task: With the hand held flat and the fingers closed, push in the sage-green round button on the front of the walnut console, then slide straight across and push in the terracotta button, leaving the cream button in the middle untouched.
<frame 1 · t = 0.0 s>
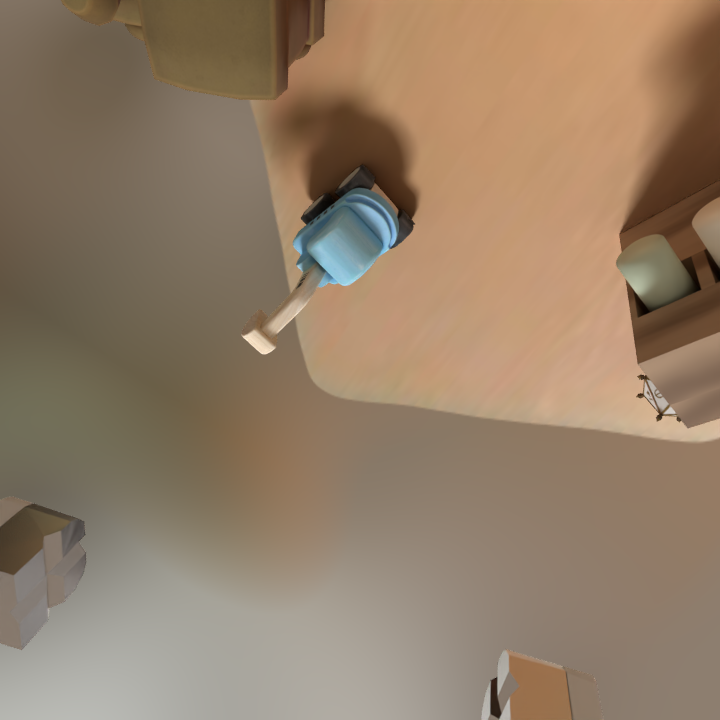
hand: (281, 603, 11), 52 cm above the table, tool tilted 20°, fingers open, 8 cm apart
game die: (674, 360, 66), on the table
toy excavator: (344, 224, 66), on the table
sage button: (658, 278, 47), point 12 cm above the table, slide at 0.0 cm
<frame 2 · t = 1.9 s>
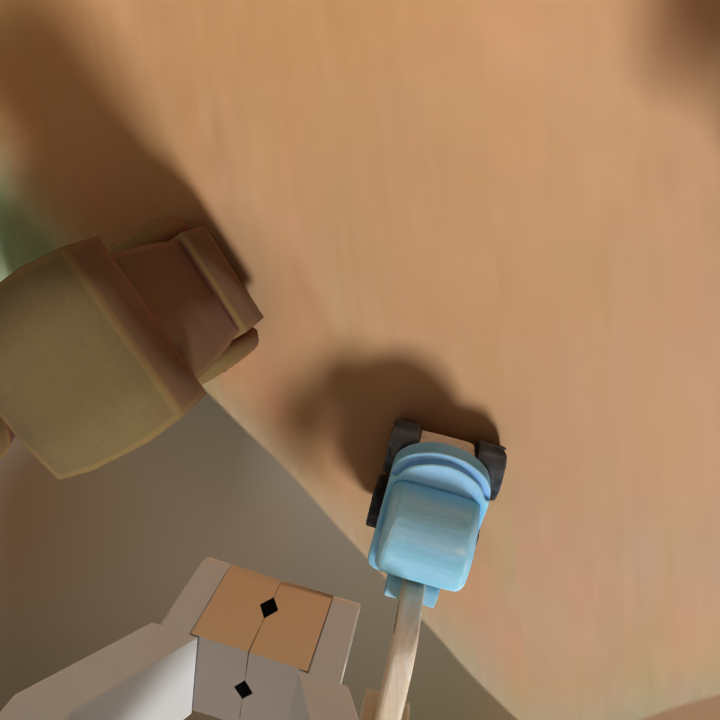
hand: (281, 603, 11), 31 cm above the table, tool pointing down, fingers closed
wooden toy train: (161, 316, 45), on the table
toy excavator: (427, 499, 47), on the table
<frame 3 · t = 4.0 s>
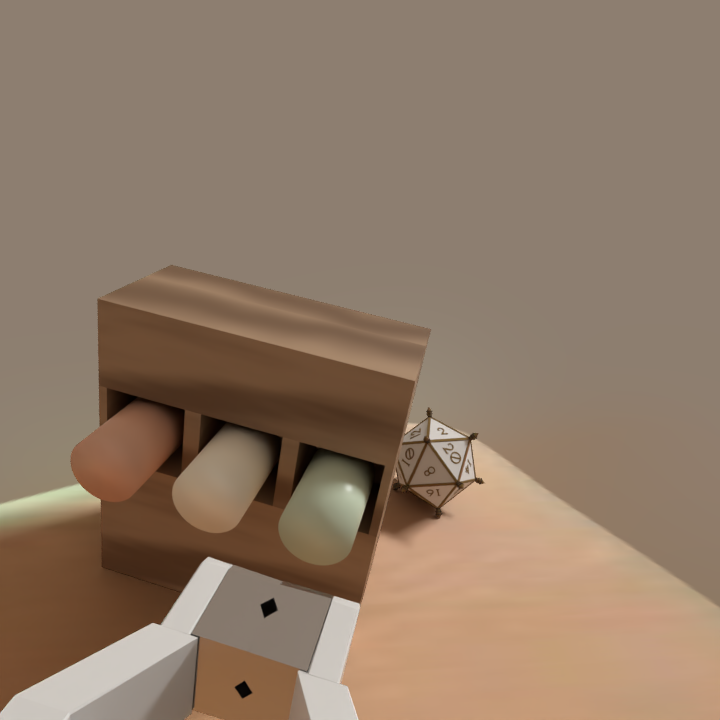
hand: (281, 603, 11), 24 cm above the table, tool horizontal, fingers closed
game die: (423, 498, 54), on the table
terracotta button: (135, 442, 34), point 12 cm above the table, slide at 0.0 cm
walnut console: (245, 564, 42), on the table
cream button: (230, 470, 33), point 12 cm above the table, slide at 0.0 cm
sage button: (330, 499, 32), point 12 cm above the table, slide at 0.0 cm
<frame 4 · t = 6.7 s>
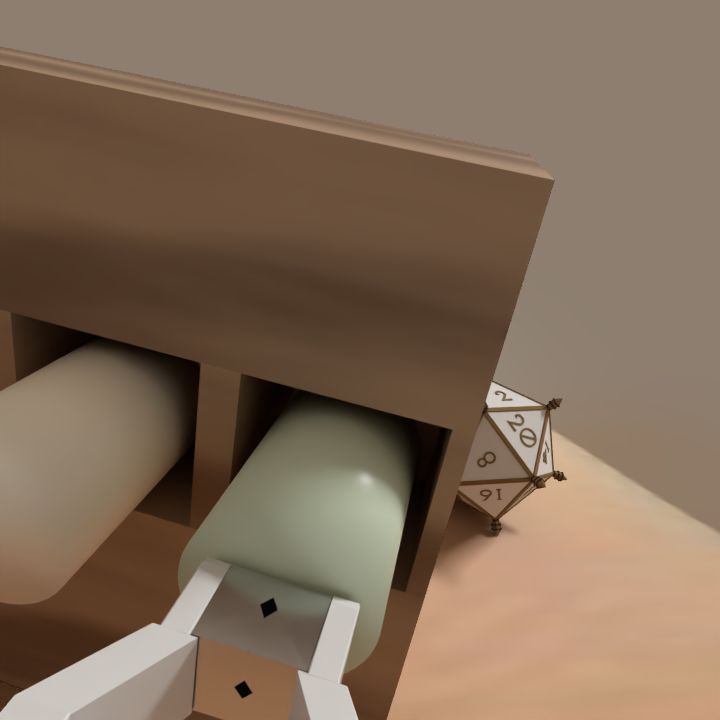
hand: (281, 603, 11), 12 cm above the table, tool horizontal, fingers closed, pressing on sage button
game die: (468, 503, 35), on the table
walnut console: (167, 625, 23), on the table
cream button: (79, 445, 14), point 12 cm above the table, slide at 0.0 cm
sage button: (320, 505, 13), point 12 cm above the table, slide at 0.4 cm, touching gripper
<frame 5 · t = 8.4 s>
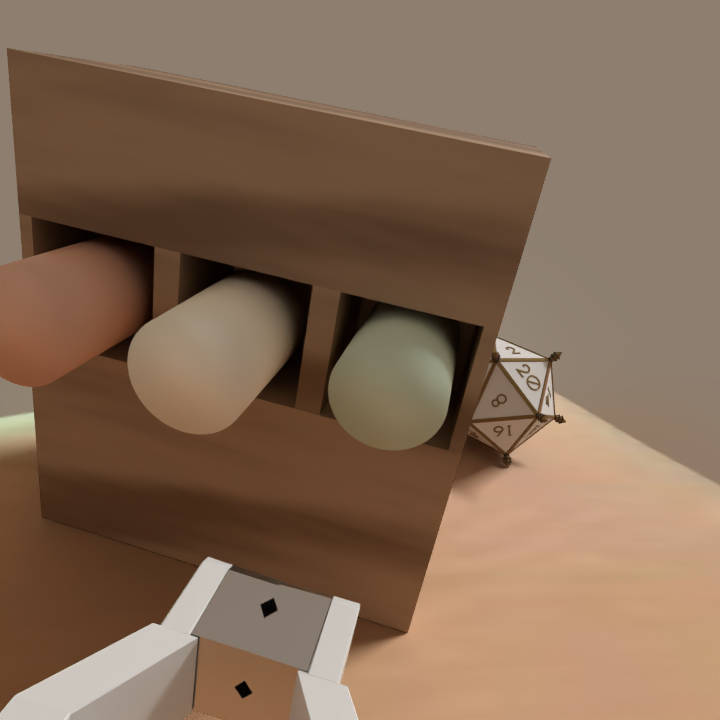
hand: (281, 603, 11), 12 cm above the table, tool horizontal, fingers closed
game die: (483, 444, 41), on the table
terracotta button: (76, 303, 21), point 12 cm above the table, slide at 0.0 cm
walnut console: (250, 517, 30), on the table
cream button: (227, 343, 20), point 12 cm above the table, slide at 0.0 cm
sage button: (401, 362, 21), point 12 cm above the table, slide at 2.1 cm
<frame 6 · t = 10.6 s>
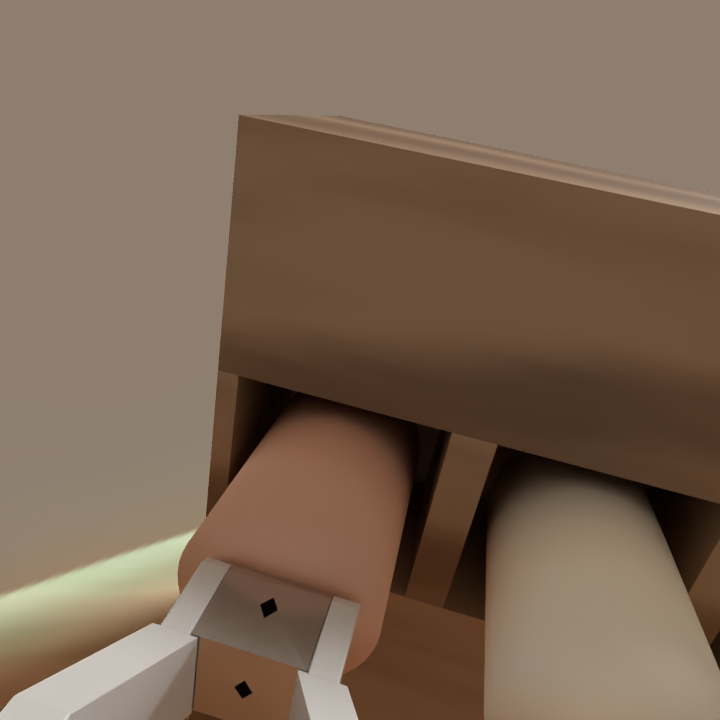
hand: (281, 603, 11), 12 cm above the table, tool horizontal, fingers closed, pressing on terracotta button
terracotta button: (320, 505, 13), point 12 cm above the table, slide at 0.5 cm, touching gripper
cream button: (581, 596, 12), point 12 cm above the table, slide at 0.0 cm
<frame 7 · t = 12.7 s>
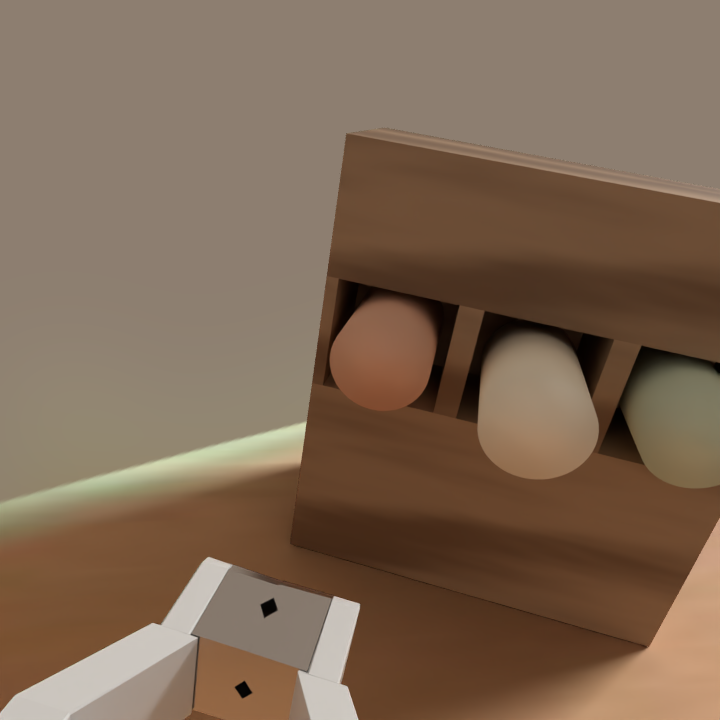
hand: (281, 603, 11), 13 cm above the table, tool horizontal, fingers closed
terracotta button: (391, 338, 25), point 12 cm above the table, slide at 2.1 cm
walnut console: (465, 539, 32), on the table
cream button: (531, 392, 22), point 12 cm above the table, slide at 0.0 cm
sage button: (675, 404, 23), point 12 cm above the table, slide at 2.1 cm
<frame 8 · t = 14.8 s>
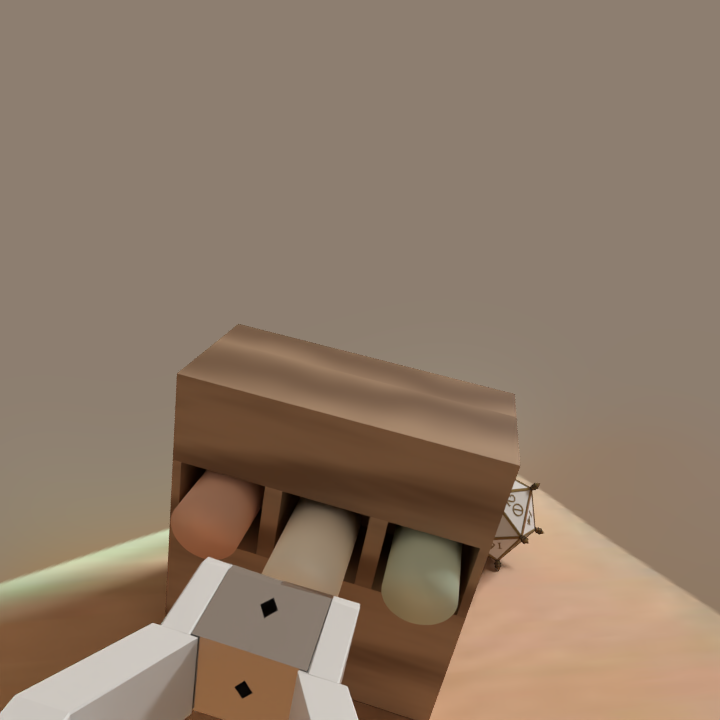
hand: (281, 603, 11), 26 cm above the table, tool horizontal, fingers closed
game die: (479, 547, 52), on the table
terracotta button: (227, 497, 34), point 12 cm above the table, slide at 2.1 cm
walnut console: (309, 629, 41), on the table
cream button: (314, 551, 31), point 12 cm above the table, slide at 0.0 cm
sage button: (425, 556, 32), point 12 cm above the table, slide at 2.1 cm
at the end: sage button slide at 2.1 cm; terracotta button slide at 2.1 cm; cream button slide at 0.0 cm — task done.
